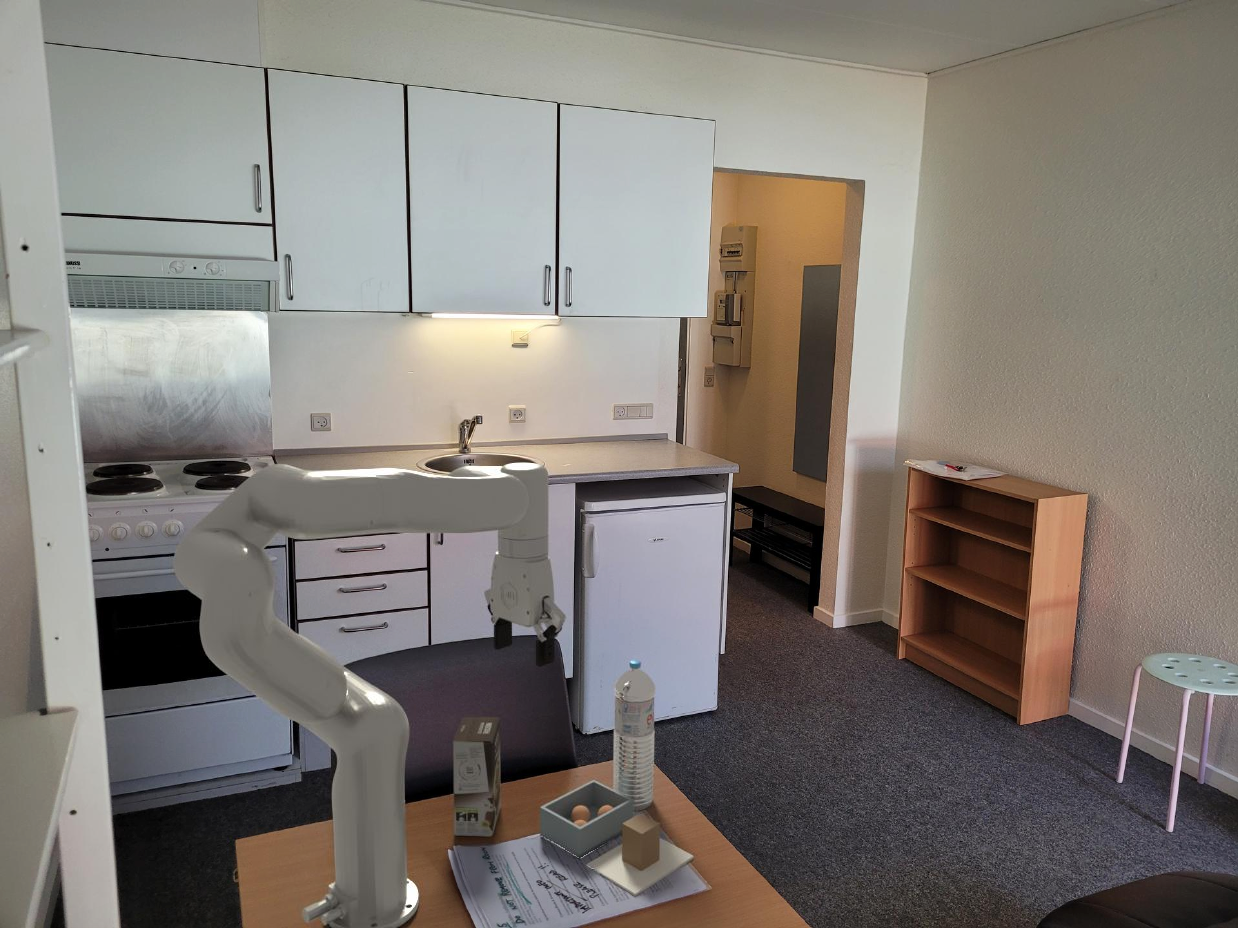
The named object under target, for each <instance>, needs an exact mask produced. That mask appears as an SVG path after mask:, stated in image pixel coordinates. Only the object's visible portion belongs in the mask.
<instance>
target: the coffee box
mask: <svg viewBox="0 0 1238 928" xmlns="http://www.w3.org/2000/svg"><path fill="white" fill-rule="evenodd" d="M500 720H501V718H500V716H499V717H497V716H476V717H472V716H471V717H469V716H468V717H467V716H463V717H462V718H461V721H460V723H459V726H458V728H457V730H456V732H455V735H454V737H453V741H452V746H453V747H452V749H453V754H452V755H453V756H452V757H453V761H452V762H453V764H452V765H453V769H452V770H453V818H454V820H453V821H454V822H453V825H454V827H453V835H454V836H467V837H493V835H494V831H495V829H496V825H497V823H498V822H497V821H498V818H499V814H500V812H501V807H502V801H501V800H502V799H501V798H502V797H501V796H502V795H501V787H502V786H501V783H502V782H501V735H500V734H501V724H500V723H501V721H500Z"/></svg>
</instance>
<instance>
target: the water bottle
mask: <svg viewBox="0 0 1238 928" xmlns="http://www.w3.org/2000/svg"><path fill="white" fill-rule="evenodd" d="M628 663H629V669H628V670H627V671H625V672H623V673H622V674H621V675H620V676H619V677H618V678H617V680H616V682H615V684H614V687H613V690H614V691H613V692H614V727H613V757H612V758H613V762H612V763H613V767H612V768H613V772H612V774H613V775H612V776H613V778H612V779H613V781H612V784H613V785H612V789H613V790H615V791H618V792H620V793H622V794H624V795H626V796H628V797H630V798H632V799H634V812H637V811H643V810H645V809H647V808H649V807H650V806H651V805H652V804H653V801H654V800H653V799H654V775H655V773H654V772H655V771H654V770H655V767H654V765H655V696H656V685H655V682H654V681H653V679H652V678H651V677H650V676H649V675H648V673H646V672H644V671H643V670H642V668H641V666H642V662H641V661H640V660H638V659H632V660H629V662H628Z"/></svg>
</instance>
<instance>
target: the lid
mask: <svg viewBox="0 0 1238 928" xmlns="http://www.w3.org/2000/svg"><path fill="white" fill-rule="evenodd" d="M660 835H661V823H660V822H658V821H656V820H654V819H652V818H651V817H649V816H647V815H646V814H643V813H639V814H637V815H635V816H633V818H631V819H629V820H628V821H626V822H624V823H622V835H621V843H620V844H619V845H617V846H615V847H614V848H612V849H610V850H608V851H607V852H605V853H604V854H602V855H600V856H598V857H597V858H595V859H593V860H592V861H590V862H588V863H586V866H587V865H588V866H590V867H591V868H594V870H596V871H598V872H599V873H600V874H602V875H603V876H605V877H606V878H605V877H604V878H605V879H607V878H608V879H609V880H608V879H607V880H608V881H610V882H612V883H614V884H615V885H616V886H618V887H620V888H621V889H623V890H624V891H627V892H628V893H630V894H631V895H633V896H634V897H636V896H638V895H640V894H641V893H642V892H644V891H646V890H647V889H649V888H650V887H651V886H653V885H654V884H656V883H658V882H659V881H661V880H662V879H664V878H665V877H667V876H669V875H670V874H672V873H673V872H675V871H676V870H678V869H679V868H681V867H682V866H684V865H685V864H687V863H688V862H690V861H691V860H693V859H695V858H694V855H692V854H691V853H689V852H688V851H685V850H683V849H681V848H680V847H678V846H676V845H674V844H672V843H671V842H668V841H667V840H664V839H663V838H660V837H661V836H660ZM594 870H593V871H594ZM600 874H599V875H600ZM602 875H601V876H602ZM603 876H602V877H603Z"/></svg>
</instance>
